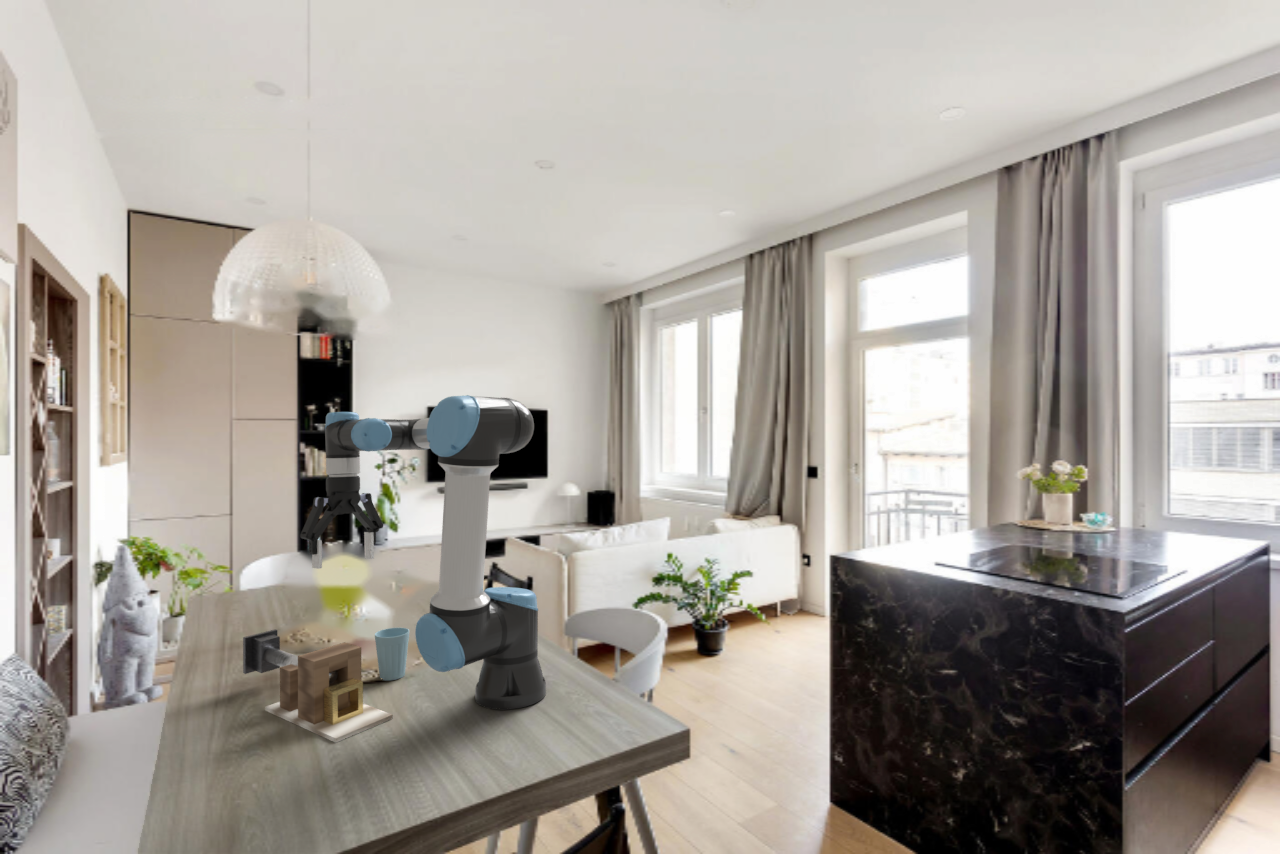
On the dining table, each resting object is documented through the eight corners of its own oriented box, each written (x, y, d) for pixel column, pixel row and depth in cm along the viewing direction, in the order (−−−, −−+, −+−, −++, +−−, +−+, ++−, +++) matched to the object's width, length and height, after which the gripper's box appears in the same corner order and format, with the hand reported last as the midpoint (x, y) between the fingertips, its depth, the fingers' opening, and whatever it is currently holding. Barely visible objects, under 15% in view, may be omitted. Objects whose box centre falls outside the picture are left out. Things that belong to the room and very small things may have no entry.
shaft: (346, 690, 133) (346, 651, 133) (313, 702, 127) (313, 661, 128) (275, 663, 149) (275, 629, 150) (243, 673, 144) (243, 637, 144)
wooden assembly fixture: (392, 718, 129) (392, 653, 129) (335, 742, 119) (335, 672, 119) (321, 690, 143) (320, 632, 143) (265, 710, 133) (264, 647, 133)
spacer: (363, 712, 130) (362, 681, 130) (332, 725, 124) (332, 692, 124) (354, 709, 131) (354, 678, 131) (324, 721, 126) (324, 688, 126)
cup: (411, 679, 149) (410, 634, 150) (375, 684, 146) (375, 639, 147) (408, 668, 156) (408, 625, 157) (374, 673, 153) (374, 630, 153)
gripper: (378, 472, 169) (379, 553, 168) (283, 478, 148) (284, 570, 147) (396, 472, 164) (397, 555, 164) (301, 479, 143) (302, 574, 143)
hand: (344, 563), depth 156 cm, fingers open, 13 cm apart
